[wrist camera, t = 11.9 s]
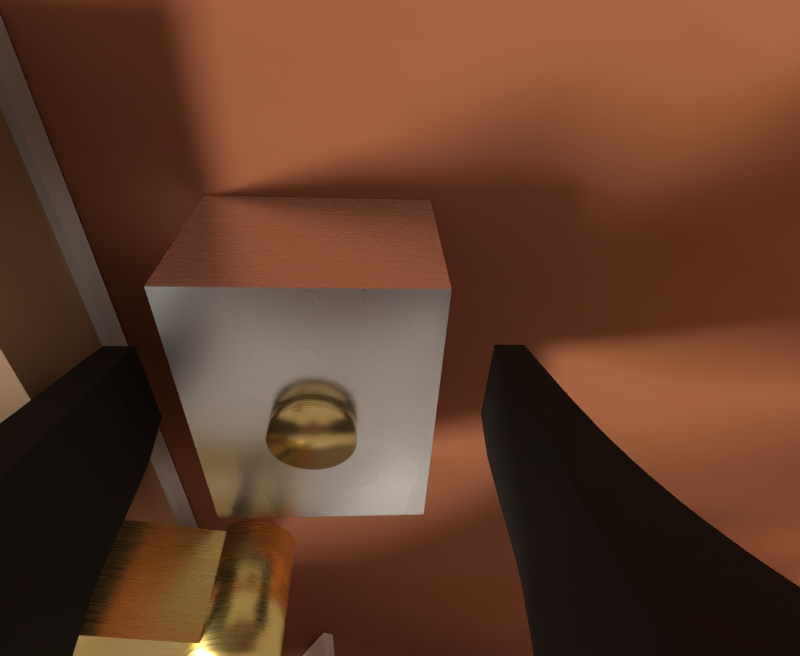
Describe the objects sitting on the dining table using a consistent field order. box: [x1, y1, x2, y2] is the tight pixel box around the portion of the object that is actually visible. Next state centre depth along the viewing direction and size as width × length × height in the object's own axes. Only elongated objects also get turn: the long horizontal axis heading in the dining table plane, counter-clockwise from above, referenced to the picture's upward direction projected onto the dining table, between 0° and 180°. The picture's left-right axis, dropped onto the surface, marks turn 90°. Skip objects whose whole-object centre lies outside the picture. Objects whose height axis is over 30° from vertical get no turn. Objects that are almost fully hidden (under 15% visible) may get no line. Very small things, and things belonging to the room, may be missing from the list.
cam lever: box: [73, 520, 295, 656], centre depth 10 cm, size 8×2×2 cm, turn 73°
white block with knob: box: [144, 196, 452, 518], centre depth 10 cm, size 6×4×4 cm
